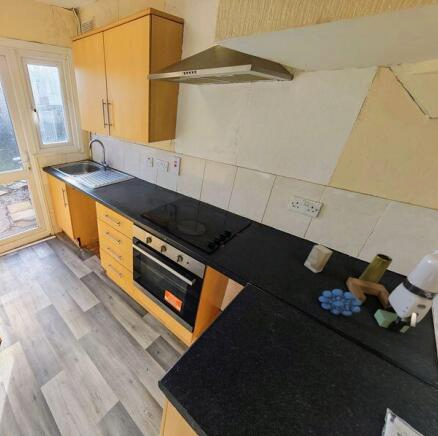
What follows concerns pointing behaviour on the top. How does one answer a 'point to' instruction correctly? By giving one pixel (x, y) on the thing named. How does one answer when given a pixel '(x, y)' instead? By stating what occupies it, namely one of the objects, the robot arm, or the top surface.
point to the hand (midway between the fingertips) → (389, 322)
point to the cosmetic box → (318, 258)
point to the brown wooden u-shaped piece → (367, 290)
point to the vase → (376, 268)
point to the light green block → (387, 319)
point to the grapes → (340, 302)
